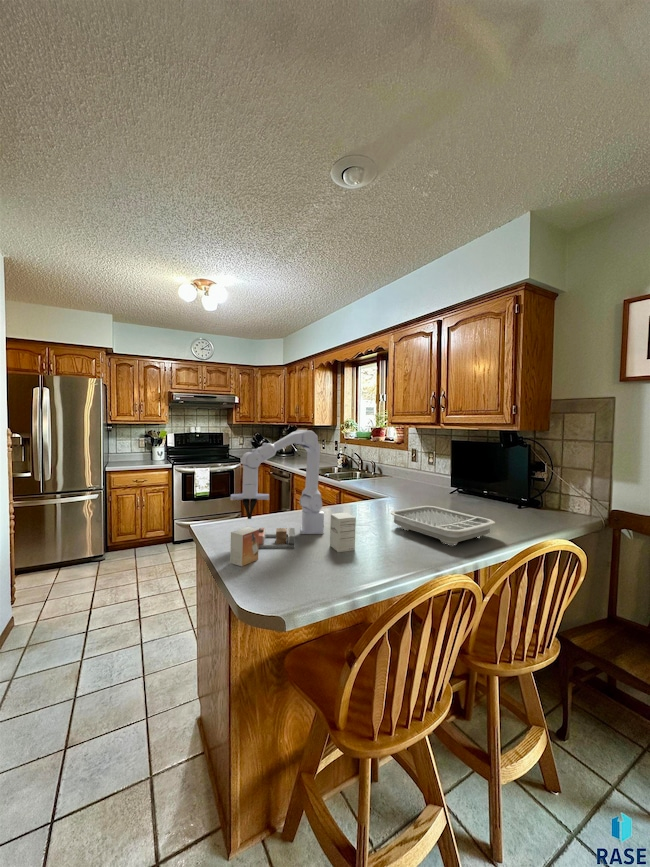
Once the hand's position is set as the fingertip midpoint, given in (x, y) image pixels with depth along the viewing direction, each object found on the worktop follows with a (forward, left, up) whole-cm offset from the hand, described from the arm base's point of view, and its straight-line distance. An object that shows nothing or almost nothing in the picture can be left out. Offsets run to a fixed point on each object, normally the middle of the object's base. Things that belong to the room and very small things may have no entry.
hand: (249, 518), depth 136 cm
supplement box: (-36, +7, -10) cm, 38 cm away
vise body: (-9, 0, -10) cm, 13 cm away
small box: (-1, +18, -10) cm, 20 cm away
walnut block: (-12, 0, -10) cm, 16 cm away
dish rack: (-82, -10, -10) cm, 83 cm away
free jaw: (-5, 0, -10) cm, 11 cm away
